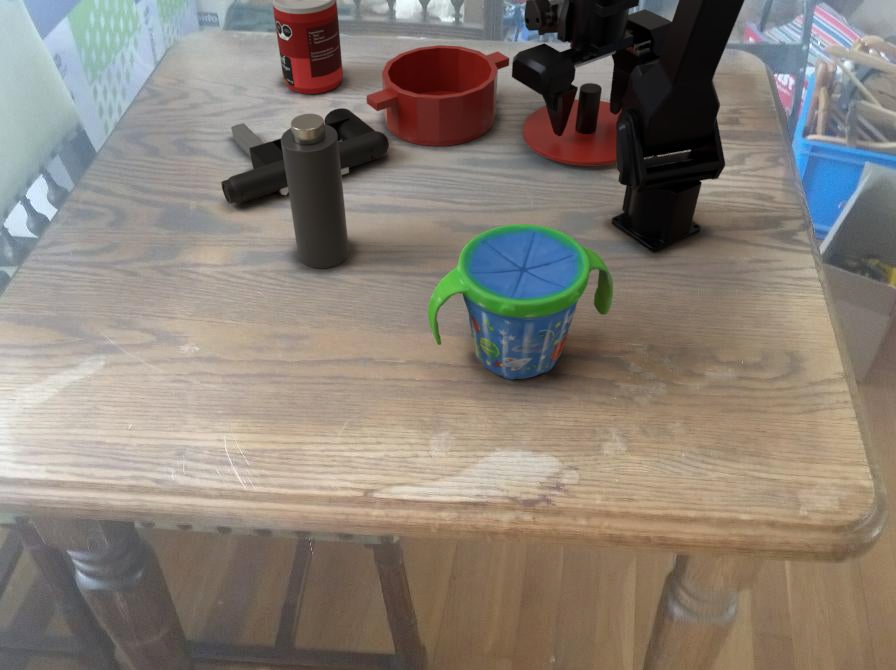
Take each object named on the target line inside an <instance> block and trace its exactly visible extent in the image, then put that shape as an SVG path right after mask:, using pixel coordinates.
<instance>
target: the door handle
mask: <svg viewBox="0 0 896 670" xmlns="http://www.w3.org/2000/svg"><path fill="white" fill-rule="evenodd" d="M324 124H325V125H328V126H331V127H332V128H334V129H335V130H336V132H337V135H338V145H339V155H340V165H341V175H342V176H343V175H347V174H349V173H350V168H353V167H356V166H359V165H362V164H365V163H367V162H371V161H376V160H378V159H380V158H382V157H384V156H385V155H386V154H387V153H388V151H389V149H390V142H389V138H388V137H387V136H386V134H384V133H383V132H381V131H378V130H375V128H372V126H370V125H369V124H367V123H366V122H365V121H364V120H363V119H361V118H360V117H359V116H357V114H355V113H353V112H352V110H349V109H348V108H343V107H341V108H340V107H339V108H335V109H332V110H331V111H329V112H328V113H327V114H326V116H325V117H324ZM230 129H231V133H232V138H233V141H234V142H235V143H236V144H237V145H238V146H239V147H240V148H241V149H242V151H244V152H245V153H246V154H247V155H248V156H249V158H250V159H251V164H252V165H251V166H252V169H250V170H247V171H244V172H241V173H238V174H233V175H232V176H229V178H227V179H225V180H222V181H220V182H221V189H222V193H223V196H224V198H225V200H226V202H227V203H228V204H229V205H232V204H234V203H235V204H243V203H246V202H249V201H252V200H254V199H258V198H261V197H264V196H267V195H270V194H273V193H276V192H279V194H280V195H283V196H287V195H288V194H289V191H288V185H287V178H286V171H285V165H284V158H283V151H282V145H281V137H280V138H277V139H274V140H270V141H267V142H263V141H262V140H261V139H260V138H259V136H257V135H256V133H254V132H253V131H252V130H251V128H249V127H248V126H247V125H246V124H245V123H244V122H242V123H239V124H235V125H233V126H230Z"/></svg>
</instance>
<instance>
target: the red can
mask: <svg viewBox="0 0 896 670" xmlns="http://www.w3.org/2000/svg"><path fill="white" fill-rule="evenodd" d="M337 3H338V2H337V0H272V9H273V17H274V23H275V24H274V25H275V31H276V38H277V45H278V52H279V58H280V59H279V60H280V66H281V70H282V79H283V81H284V83H285V85H286V87H287V88H288V89H289V90H290V91H293V92H295V93H297V94H303V95H319V94H324V93H327V92H330V91H332V90H335V89H336V88H337V87H339V85H340V84H342V80H343V75H344V71H343V60H342V48H341V47H342V46H341V36H340V26H339V25H340V24H339V23H340V22H339V12H338V4H337Z"/></svg>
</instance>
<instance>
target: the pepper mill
mask: <svg viewBox="0 0 896 670" xmlns="http://www.w3.org/2000/svg"><path fill="white" fill-rule="evenodd" d="M324 120H325V118H323V117H322V116H321V115H319V114H316V113H303V114H299V115H297V116H295V117H294V118H292V120H291V121H290V127H289V128H288V129H287V130H286V131H285V132H283V134H282V135H281V137H280V138H281V145H282V151H283V158H284V165H285V171H286V178H287V185H288V191H289V193H288V198H289V205H290V210H291V211H290V212H291V217H292V223H293V231H294V237H295V244H296V250H297V257H298V259H299V261H300V262H301V263H302V264H303V265H305V266H307V267H309V268H313V269H329V268H334V267H336V266H338V265H340V264H342V263H343V262H344V261H345V260H346V259H347V258H348V256H349V254H350V248H349V238H348V237H349V236H348V225H347V218H346V217H347V216H346V208H345V197H344V187H343V175H341V165H340V155H339V145H338V142H339V141H338V135H337V132H336V130H335V129H334V128H332V127H331V126H328V125H325V123H324Z"/></svg>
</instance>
